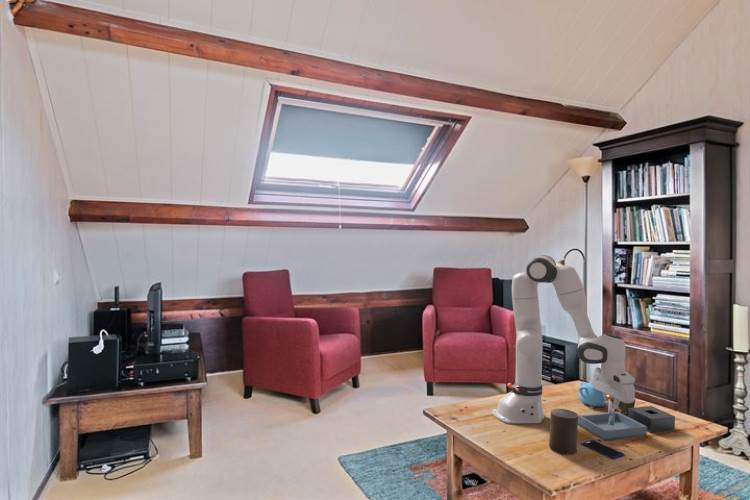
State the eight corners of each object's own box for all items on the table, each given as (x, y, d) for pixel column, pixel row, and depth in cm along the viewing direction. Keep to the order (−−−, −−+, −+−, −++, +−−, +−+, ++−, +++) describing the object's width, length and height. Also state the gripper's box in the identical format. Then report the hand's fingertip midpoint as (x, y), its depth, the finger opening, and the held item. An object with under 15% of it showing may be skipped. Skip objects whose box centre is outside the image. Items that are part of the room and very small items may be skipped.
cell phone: (592, 441, 184) (592, 439, 184) (625, 456, 172) (625, 454, 172) (579, 445, 180) (579, 443, 180) (613, 460, 168) (613, 458, 168)
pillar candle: (563, 456, 170) (564, 416, 169) (543, 445, 179) (545, 406, 178) (582, 452, 174) (584, 412, 173) (562, 441, 183) (564, 403, 182)
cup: (637, 418, 206) (637, 400, 206) (619, 417, 208) (619, 399, 207) (631, 412, 214) (632, 395, 213) (614, 410, 215) (614, 393, 215)
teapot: (576, 406, 221) (577, 383, 220) (581, 396, 233) (581, 374, 232) (606, 412, 214) (606, 389, 213) (609, 401, 226) (610, 379, 225)
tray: (604, 441, 183) (604, 431, 183) (577, 424, 199) (577, 415, 199) (646, 436, 188) (646, 426, 188) (616, 420, 204) (617, 411, 203)
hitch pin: (610, 426, 191) (611, 397, 190) (603, 422, 195) (604, 394, 194) (618, 425, 192) (619, 396, 191) (611, 422, 196) (612, 393, 195)
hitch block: (650, 433, 191) (651, 418, 191) (628, 421, 203) (628, 408, 202) (674, 430, 194) (675, 416, 194) (650, 419, 206) (651, 405, 205)
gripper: (588, 366, 202) (587, 398, 202) (624, 381, 182) (623, 416, 183) (601, 365, 203) (600, 397, 204) (638, 380, 184) (637, 415, 184)
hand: (611, 406), depth 193 cm, fingers closed on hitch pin, 2 cm apart
